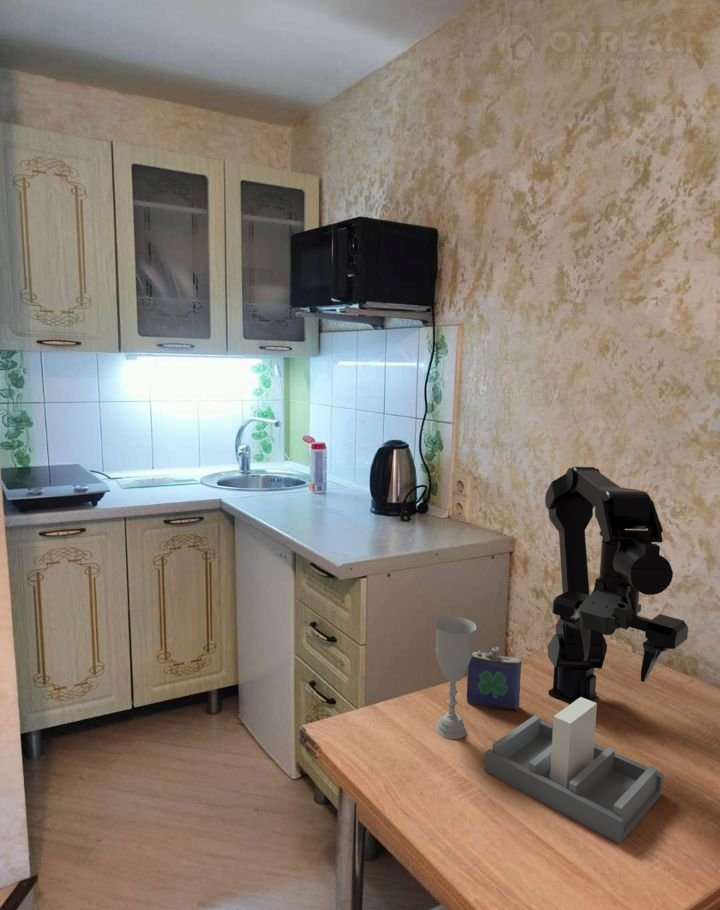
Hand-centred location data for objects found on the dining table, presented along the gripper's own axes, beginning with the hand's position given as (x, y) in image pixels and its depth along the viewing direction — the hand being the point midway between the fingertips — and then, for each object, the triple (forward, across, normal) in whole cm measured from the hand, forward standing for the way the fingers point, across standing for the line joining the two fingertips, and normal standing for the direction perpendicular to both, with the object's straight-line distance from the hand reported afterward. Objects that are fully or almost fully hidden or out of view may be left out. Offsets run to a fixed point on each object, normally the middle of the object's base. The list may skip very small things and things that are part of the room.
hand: (613, 670), depth 96 cm
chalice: (+13, -20, -14) cm, 28 cm away
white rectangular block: (+12, 0, -12) cm, 17 cm away
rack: (+13, 0, -12) cm, 18 cm away
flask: (+13, -20, -2) cm, 24 cm away
